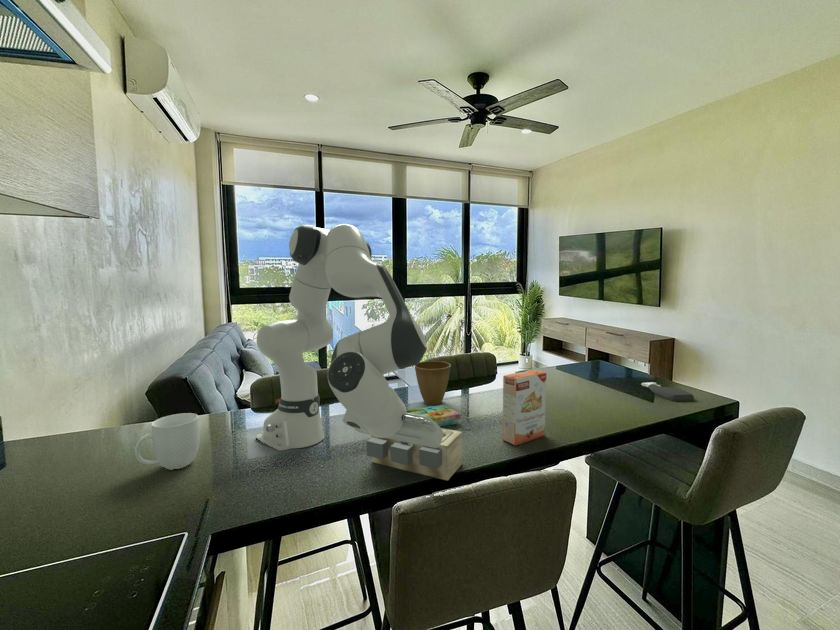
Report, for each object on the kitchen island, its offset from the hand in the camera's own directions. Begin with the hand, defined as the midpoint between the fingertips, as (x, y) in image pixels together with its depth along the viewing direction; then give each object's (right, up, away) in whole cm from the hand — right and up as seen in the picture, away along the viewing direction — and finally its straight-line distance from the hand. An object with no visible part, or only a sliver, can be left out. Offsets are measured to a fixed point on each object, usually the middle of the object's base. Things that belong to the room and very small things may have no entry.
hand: (408, 442), depth 84 cm
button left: (-9, -9, +17) cm, 21 cm away
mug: (-66, -14, +21) cm, 70 cm away
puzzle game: (+6, -11, +50) cm, 52 cm away
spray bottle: (+110, -6, +82) cm, 137 cm away
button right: (+5, -9, +11) cm, 15 cm away
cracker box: (+36, -11, +36) cm, 52 cm away
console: (+2, -13, +20) cm, 24 cm away
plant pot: (+8, -8, +73) cm, 74 cm away
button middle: (-2, -9, +13) cm, 16 cm away
